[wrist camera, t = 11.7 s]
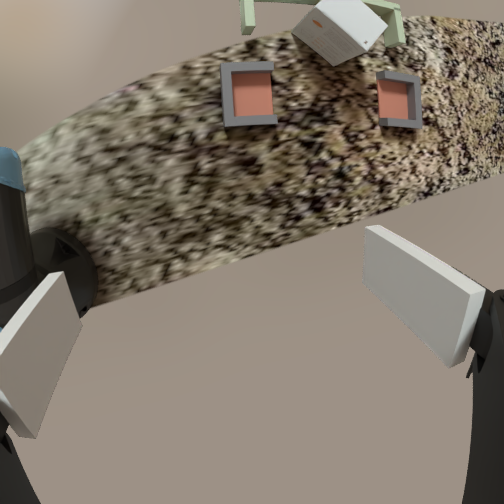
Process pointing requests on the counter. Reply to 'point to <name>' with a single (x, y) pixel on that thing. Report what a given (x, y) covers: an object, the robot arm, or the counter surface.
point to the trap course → (258, 73)
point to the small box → (340, 29)
